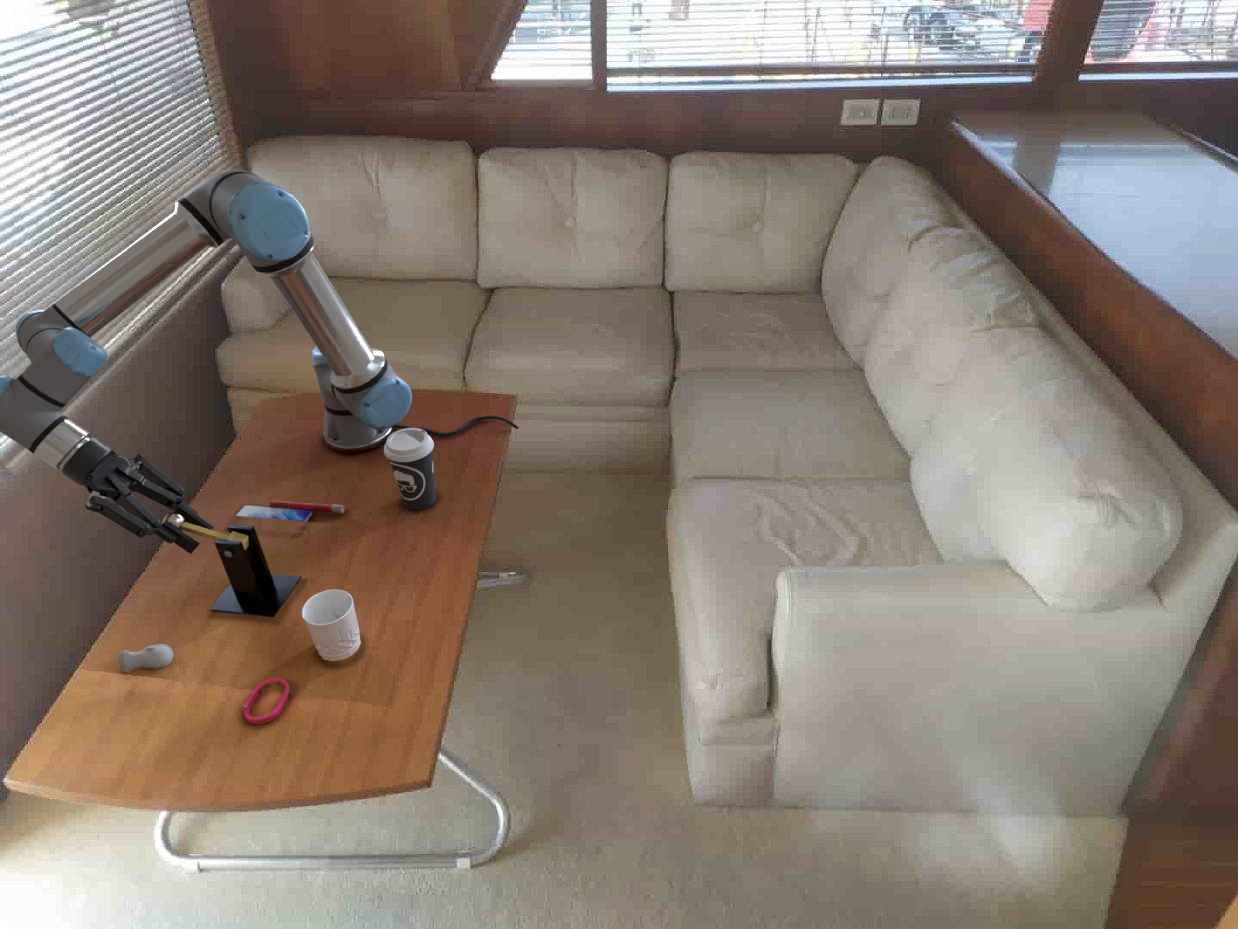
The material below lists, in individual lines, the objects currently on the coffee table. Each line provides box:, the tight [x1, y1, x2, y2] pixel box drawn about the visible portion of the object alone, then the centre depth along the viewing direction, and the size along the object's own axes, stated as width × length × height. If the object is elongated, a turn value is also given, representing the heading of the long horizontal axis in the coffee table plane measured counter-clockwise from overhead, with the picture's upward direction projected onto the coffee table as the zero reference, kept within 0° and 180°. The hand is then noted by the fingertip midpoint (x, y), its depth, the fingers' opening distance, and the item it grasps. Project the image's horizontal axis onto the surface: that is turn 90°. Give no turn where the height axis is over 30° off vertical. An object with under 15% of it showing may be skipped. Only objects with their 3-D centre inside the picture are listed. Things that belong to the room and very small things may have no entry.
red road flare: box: [269, 499, 345, 514], centre depth 171 cm, size 2×15×2 cm, turn 82°
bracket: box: [209, 523, 302, 618], centre depth 147 cm, size 12×10×15 cm
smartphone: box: [234, 504, 313, 523], centre depth 168 cm, size 7×1×15 cm
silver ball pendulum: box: [161, 512, 249, 550], centre depth 143 cm, size 14×4×4 cm, turn 81°
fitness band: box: [242, 677, 292, 725], centre depth 132 cm, size 8×6×2 cm
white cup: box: [301, 589, 362, 662], centre depth 138 cm, size 8×8×10 cm
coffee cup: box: [383, 428, 437, 511], centre depth 169 cm, size 10×10×15 cm
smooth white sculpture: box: [118, 643, 175, 674], centre depth 138 cm, size 4×8×5 cm
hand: (202, 540), depth 145 cm, fingers closed on silver ball pendulum, 4 cm apart
